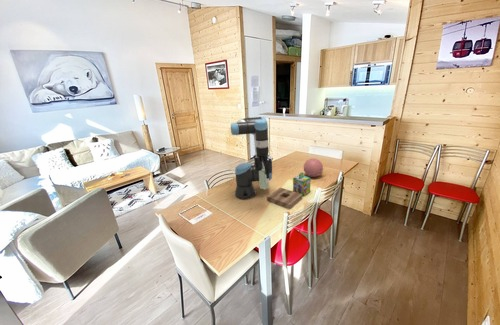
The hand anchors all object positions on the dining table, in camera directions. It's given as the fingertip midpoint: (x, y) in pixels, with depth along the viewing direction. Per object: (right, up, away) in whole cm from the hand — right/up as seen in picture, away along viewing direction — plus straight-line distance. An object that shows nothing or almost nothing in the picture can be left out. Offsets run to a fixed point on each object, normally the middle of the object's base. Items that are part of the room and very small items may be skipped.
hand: (264, 181), depth 134 cm
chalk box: (+29, -10, +20) cm, 36 cm away
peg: (0, -4, +1) cm, 4 cm away
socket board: (+15, -14, +12) cm, 23 cm away
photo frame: (-44, -22, +3) cm, 50 cm away
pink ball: (+46, +1, +46) cm, 65 cm away
